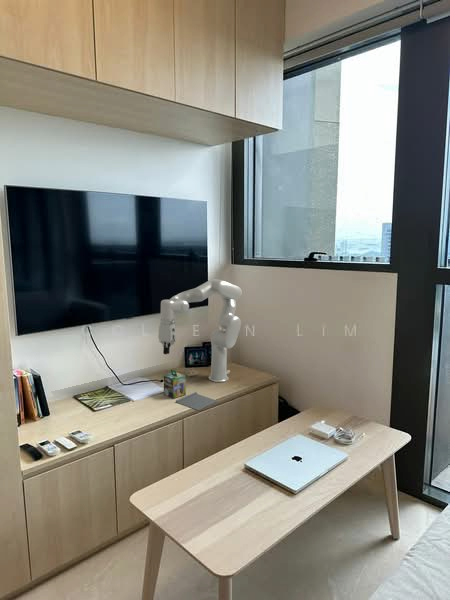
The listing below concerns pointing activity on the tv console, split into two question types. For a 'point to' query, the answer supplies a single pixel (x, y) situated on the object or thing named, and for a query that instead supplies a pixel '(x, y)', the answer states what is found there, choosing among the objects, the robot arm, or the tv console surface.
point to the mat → (196, 401)
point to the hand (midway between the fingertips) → (166, 353)
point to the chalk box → (174, 384)
